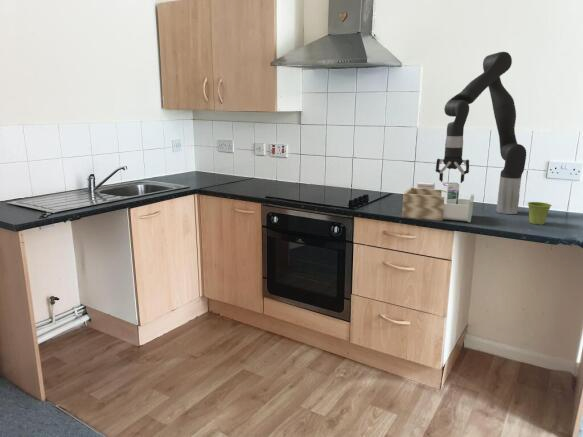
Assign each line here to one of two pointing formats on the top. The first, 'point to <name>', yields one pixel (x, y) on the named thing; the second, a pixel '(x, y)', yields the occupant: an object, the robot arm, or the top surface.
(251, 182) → the top surface
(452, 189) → the syrup box
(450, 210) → the drawer
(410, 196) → the caddy
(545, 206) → the plant pot
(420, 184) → the ink box
